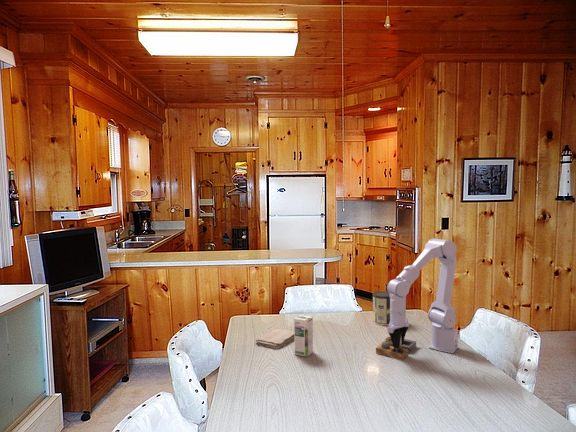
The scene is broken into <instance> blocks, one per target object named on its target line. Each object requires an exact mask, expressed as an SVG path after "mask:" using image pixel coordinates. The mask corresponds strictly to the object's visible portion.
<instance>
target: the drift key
mask: <svg viewBox="0 0 576 432" xmlns="http://www.w3.org/2000/svg"><path fill="white" fill-rule="evenodd" d="M389 341H392V340H391V337H390V336H387V337H386V338H385V341H384V342H389Z"/></svg>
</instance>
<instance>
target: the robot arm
mask: <svg viewBox="0 0 576 432" xmlns="http://www.w3.org/2000/svg"><path fill="white" fill-rule="evenodd" d="M457 250H458V246H457V245H456V244H455V242H454V241H453V240H450V239H441V238H436V237H432V238H430V239H429V240H428V241H427V242H426V243H425V245H424V249H423V250H422V252H421V253H420V254H419V255H418V257H417V258H416V259H415V261H414V262H413V263H412V264H411V265H406V266H404V268H403V269H402V271H401V272H400V273H399V274H398V275H397V276H396V278H394V279H391V280H390V281H389V282H388V284H387V286H386V290H387V292H389V297H390V323H389V325H388V326H387V333H388V335H389V337H391V340H392V344H393V347H394V348H399V346H400V339H401V335H402V345H403V342H404V339H406V338H405V337H406V334H407V332H408V330H409V326H410V324H409V318H408V317H407V313H406V312H407V311H406V310H407V309H406V307H407V305H406V304H407V301H406V300H407V298H406V297H407V295H408V294H409V293H410V288H411V286H412V284H413V283H414V282H415V281H416V280H417V279H418V278H419V276H420V271H421V270H422V269H423V268H424V267H425V266H426V265H427V264H428V263H429V262H430V261H432V259H436V258H437V259H438V260H439V262H440V271H439V276H438V277H439V278H438V285H437V290H436V292H437V293H436V297H435V298H436V299H435V300H434V301H433V302H432V303H431V304H430V308H429V310H428V312H427V318H428V320H429V321H430V325H431V344H430V345H429V346H428V349H431V350H434V351H440V352H444V353H449V354H454V353H455V352H456V351H457V350H458V348H459V332H458V329H457V328H455V327H454V326H455V324H456V321H457V317H456V309H455V308H454V306H453V305H452V303H451V302H452V297H453V296H452V295H453V289H454V287H453V286H454V281H455V275H456V274H455V273H456V267H457ZM399 330H401V331H399Z"/></svg>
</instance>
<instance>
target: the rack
mask: <svg viewBox="0 0 576 432" xmlns="http://www.w3.org/2000/svg"><path fill="white" fill-rule="evenodd" d="M375 354H378V355H381V356H385V357H388V358H389V357H390V358H392V359H396V360H397V359H398V360H401V361H404V360H405V359H406V358H407V357H408V356H409V353H408V350H405V349H402V354H401V353H396V352H394V347H393V346H390V343H389V342H385V341H382V342H381V343H380V344H379V345H378V346H376V347H375Z"/></svg>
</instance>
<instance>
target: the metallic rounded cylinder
mask: <svg viewBox="0 0 576 432" xmlns="http://www.w3.org/2000/svg"><path fill="white" fill-rule="evenodd" d="M399 331H401V330H399ZM394 352H396V353H401V354H402V335H401V339H400V346H399V348H394Z"/></svg>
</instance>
